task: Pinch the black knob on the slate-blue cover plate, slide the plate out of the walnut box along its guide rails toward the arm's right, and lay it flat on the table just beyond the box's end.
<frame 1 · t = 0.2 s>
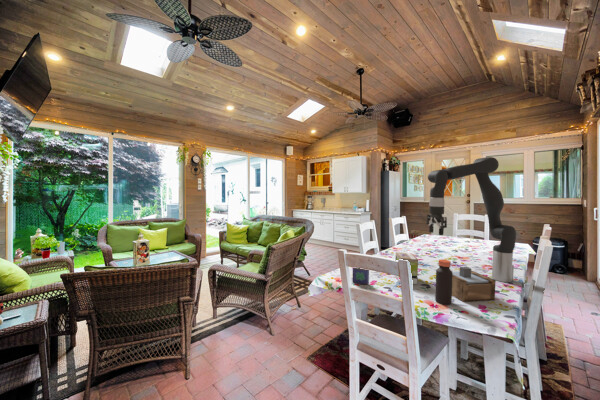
hand: (435, 233, 142), 29 cm above the table, tool pointing down, fingers open, 8 cm apart
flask: (360, 283, 141), on the table
bottle: (443, 302, 119), on the table
cover plate: (465, 278, 129), point 8 cm above the table, touching walnut box
tea box: (405, 279, 148), on the table
walnut box: (464, 293, 129), on the table
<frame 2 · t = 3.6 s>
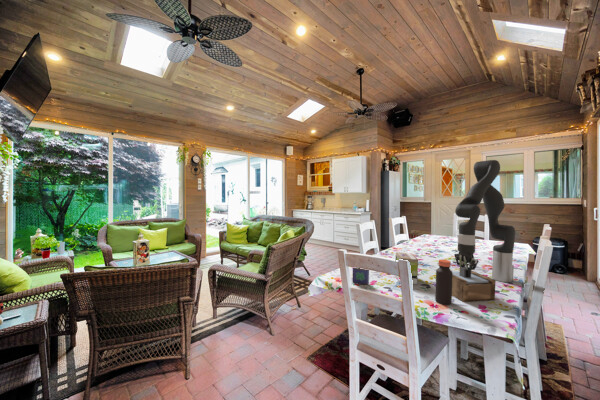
hand: (465, 275, 129), 9 cm above the table, tool pointing down, fingers closed on cover plate, 3 cm apart
cover plate: (465, 278, 129), point 8 cm above the table, touching gripper, walnut box
everything else where it was.
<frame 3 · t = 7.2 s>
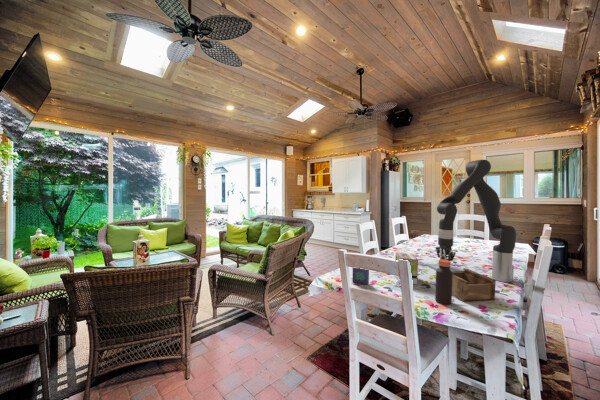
hand: (444, 266, 144), 9 cm above the table, tool pointing down, fingers closed on cover plate, 3 cm apart
cover plate: (444, 268, 144), point 8 cm above the table, touching gripper
everything else where it was.
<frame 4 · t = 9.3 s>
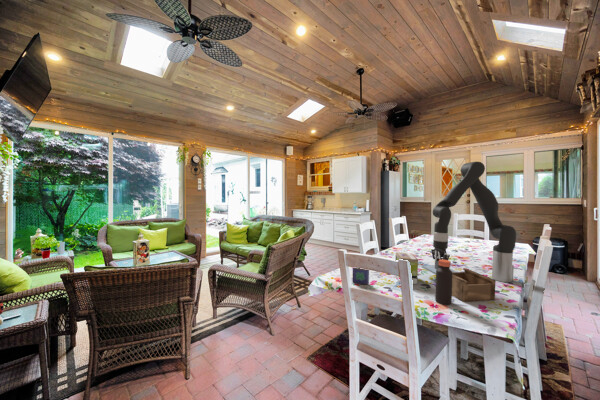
hand: (439, 268, 148), 7 cm above the table, tool pointing down, fingers closed on cover plate, 3 cm apart
cover plate: (439, 270, 148), point 6 cm above the table, touching gripper
everything else where it was.
when the fingers open (3 cm above the table, at t = 10.8 s): cover plate drops 2 cm, on the table.
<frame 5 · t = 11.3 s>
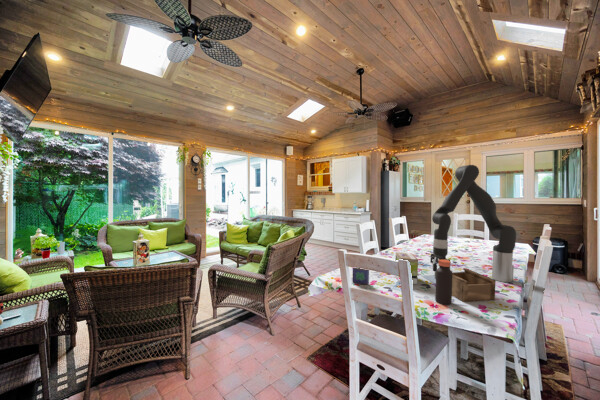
hand: (439, 273, 148), 4 cm above the table, tool pointing down, fingers open, 8 cm apart
cover plate: (439, 280, 148), on the table
everything else where it was.
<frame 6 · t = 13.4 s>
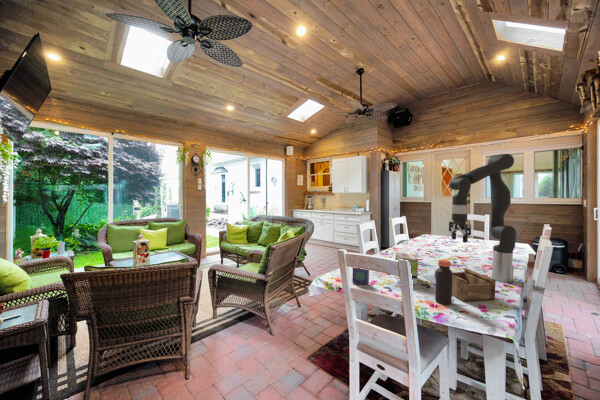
hand: (459, 240, 142), 25 cm above the table, tool pointing down, fingers open, 8 cm apart
nothing on the table moved.
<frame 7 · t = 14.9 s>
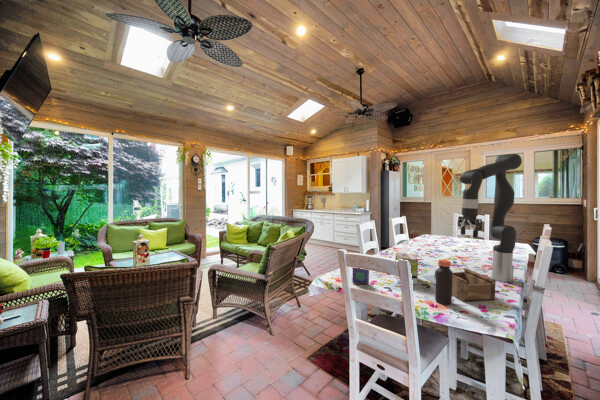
hand: (468, 236, 139), 28 cm above the table, tool pointing down, fingers open, 8 cm apart
nothing on the table moved.
at the end: cover plate inside the target area (0.8 cm from its centre), on the table; cover plate tilted 0°; the gripper is holding nothing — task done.
